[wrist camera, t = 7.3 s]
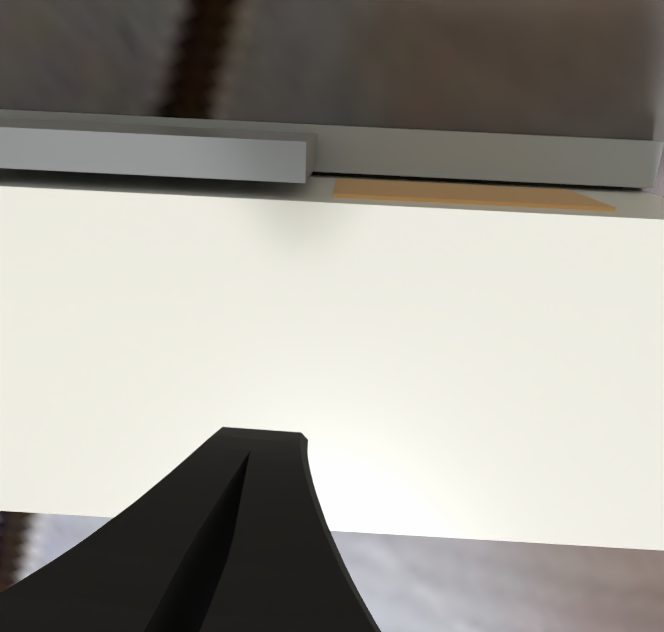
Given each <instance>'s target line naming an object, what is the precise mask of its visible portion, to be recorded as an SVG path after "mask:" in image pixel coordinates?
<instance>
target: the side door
mask: <svg viewBox="0 0 664 632" xmlns="http://www.w3.org/2000/svg"><path fill="white" fill-rule="evenodd" d="M317 144H318V134H315V133H295V132H274V131H254V130H233V129H212V128H192V127H171V126H150V125H130V124H109V123H88V122H68V121H47V120H26V119H6V118H0V168H9V169H29V170H49V171H69V172H89V173H109V174H129V175H149V176H169V177H189V178H210V179H230V180H250V181H270V182H290V183H306V181H307V180H308V178H309V176H310V175H311V173H312V172H313V170H314V169H315V167H316V166H317Z"/></svg>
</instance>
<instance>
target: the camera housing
mask: <svg viewBox="0 0 664 632" xmlns="http://www.w3.org/2000/svg"><path fill="white" fill-rule="evenodd" d="M0 118H6V119H26V120H47V121H68V122H88V123H109V124H130V125H150V126H171V127H192V128H212V129H233V130H254V131H274V132H295V133H315V134H318V144H317V166H316V167H315V169H314V170H313V172H332V173H352V174H373V175H393V176H413V177H433V178H453V179H474V180H494V181H514V182H534V183H554V184H575V185H595V186H615V187H635V188H654V187H655V182H656V178H657V173H658V169H659V164H660V160H661V155H662V151H663V146H664V142H661V141H649V140H629V139H608V138H587V137H566V136H546V135H525V134H504V133H483V132H462V131H442V130H421V129H400V128H379V127H359V126H338V125H317V124H296V123H276V122H255V121H234V120H213V119H193V118H172V117H151V116H130V115H110V114H89V113H68V112H47V111H27V110H6V109H0ZM222 427H233V428H247V429H261V430H275V431H289V432H301V433H302V434H303V435H304V436H305V437H306V438H307V439H308V461H309V466H310V471H311V475H312V479H313V483H314V487H315V490H316V494H317V497H318V499H319V502H320V505H321V508H322V511H323V514H324V517H325V519H326V522H327V525H328V527H329V530H332V531H349V532H365V533H382V534H399V535H415V536H432V537H449V538H465V539H482V540H499V541H515V542H532V543H549V544H566V545H582V546H599V547H616V548H632V549H649V550H664V197H661V196H658V195H654V194H651V193H647V192H644V191H630V190H609V189H589V188H569V187H549V186H529V185H509V184H489V183H468V182H448V181H428V180H408V179H388V178H368V177H348V176H327V175H310V176H309V178H308V180H307V181H306V183H290V182H270V181H250V180H230V179H210V178H189V177H169V176H149V175H129V174H109V173H89V172H69V171H49V170H29V169H9V168H0V511H15V512H32V513H48V514H65V515H82V516H98V517H115V516H117V515H118V514H119V513H121V512H122V511H123V510H125V509H126V508H127V507H129V506H130V505H131V504H133V503H134V502H135V501H136V500H138V499H139V498H140V497H141V496H142V495H144V494H145V493H146V492H147V491H148V490H150V489H151V488H152V487H153V486H154V485H156V484H157V483H158V482H159V481H160V480H162V479H163V478H164V477H165V476H166V475H168V474H169V473H170V472H171V471H172V470H173V469H175V468H176V467H177V466H178V465H179V464H180V463H181V462H183V461H184V460H185V459H186V458H187V457H188V456H189V455H190V454H192V453H193V452H194V451H195V450H196V449H197V448H198V447H199V446H201V445H202V444H203V443H204V442H205V441H206V440H207V439H208V438H210V437H211V436H212V435H213V434H214V433H216V432H217V431H218V430H219V429H220V428H222Z"/></svg>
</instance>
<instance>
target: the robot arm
mask: <svg viewBox="0 0 664 632" xmlns="http://www.w3.org/2000/svg"><path fill="white" fill-rule="evenodd" d="M0 632H381V631H380V629H379V627H378V626H377V624H376V623H375V621H374V619H373V617H372V615H371V614H370V612H369V610H368V608H367V607H366V605H365V603H364V601H363V599H362V598H361V596H360V594H359V592H358V590H357V588H356V586H355V584H354V582H353V581H352V578H351V576H350V574H349V572H348V570H347V568H346V566H345V564H344V562H343V560H342V557H341V555H340V553H339V551H338V549H337V546H336V544H335V542H334V540H333V537H332V535H331V532H330V530H329V527H328V525H327V522H326V519H325V517H324V514H323V511H322V508H321V505H320V502H319V499H318V497H317V494H316V490H315V487H314V483H313V479H312V475H311V471H310V466H309V461H308V439H307V438H306V437H305V436H304V435H303V434H302V433H301V432H289V431H275V430H261V429H247V428H233V427H222V428H220V429H219V430H218V431H217V432H216V433H214V434H213V435H212V436H211V437H210V438H208V439H207V440H206V441H205V442H204V443H203V444H202V445H201V446H199V447H198V448H197V449H196V450H195V451H194V452H193V453H192V454H190V455H189V456H188V457H187V458H186V459H185V460H184V461H183V462H181V463H180V464H179V465H178V466H177V467H176V468H175V469H173V470H172V471H171V472H170V473H169V474H168V475H166V476H165V477H164V478H163V479H162V480H160V481H159V482H158V483H157V484H156V485H154V486H153V487H152V488H151V489H150V490H148V491H147V492H146V493H145V494H144V495H142V496H141V497H140V498H139V499H138V500H136V501H135V502H134V503H133V504H131V505H130V506H129V507H127V508H126V509H125V510H123V511H122V512H121V513H119V514H118V515H117V516H115V517H114V518H113V519H111V520H110V521H109V522H107V523H106V524H105V525H103V526H102V527H101V528H99V529H98V530H97V531H95V532H94V533H93V534H91V535H90V536H89V537H87V538H86V539H84V540H83V541H82V542H80V543H79V544H77V545H76V546H74V547H73V548H71V549H70V550H68V551H67V552H65V553H64V554H62V555H61V556H59V557H58V558H56V559H55V560H53V561H52V562H50V563H49V564H47V565H45V566H44V567H42V568H40V569H39V570H37V571H36V572H34V573H32V574H31V575H29V576H28V577H26V578H24V579H23V580H21V581H20V582H18V583H16V584H15V585H13V586H11V587H10V588H8V589H6V590H5V591H3V592H1V593H0Z"/></svg>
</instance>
